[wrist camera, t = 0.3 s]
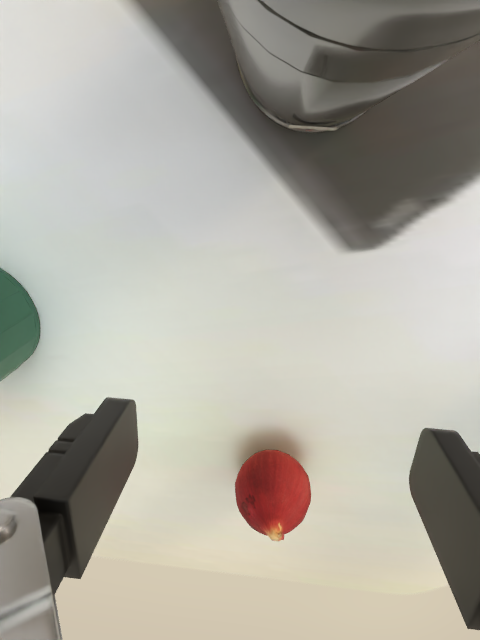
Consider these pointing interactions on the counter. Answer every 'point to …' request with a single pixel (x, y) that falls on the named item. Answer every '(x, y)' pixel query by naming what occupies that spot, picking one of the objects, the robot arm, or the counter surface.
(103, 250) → the counter surface
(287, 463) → the onion
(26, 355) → the green plastic cup
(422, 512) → the robot arm
